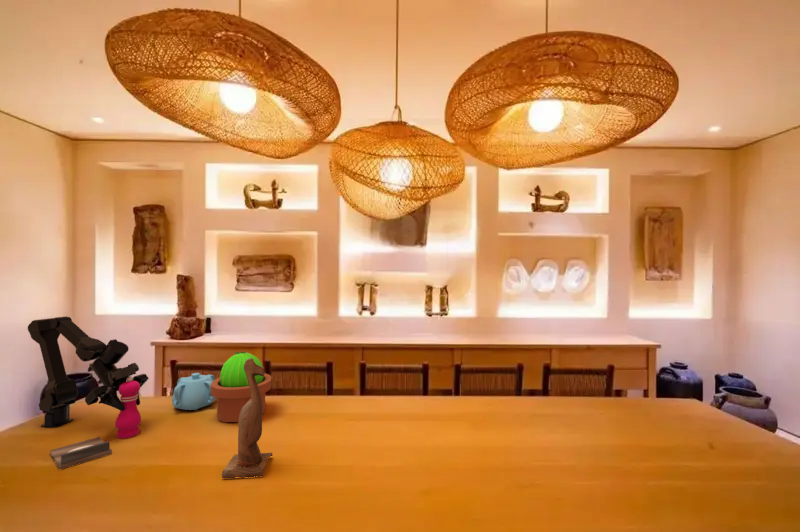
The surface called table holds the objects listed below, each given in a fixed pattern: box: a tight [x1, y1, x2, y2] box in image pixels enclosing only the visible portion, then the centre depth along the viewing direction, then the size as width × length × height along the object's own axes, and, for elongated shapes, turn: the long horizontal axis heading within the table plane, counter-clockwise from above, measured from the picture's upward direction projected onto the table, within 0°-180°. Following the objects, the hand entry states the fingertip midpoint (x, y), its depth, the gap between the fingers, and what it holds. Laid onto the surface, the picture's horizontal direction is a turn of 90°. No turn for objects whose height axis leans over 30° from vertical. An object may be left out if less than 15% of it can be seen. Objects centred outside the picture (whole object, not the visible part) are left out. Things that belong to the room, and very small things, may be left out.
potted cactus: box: [211, 351, 272, 423], centre depth 146 cm, size 22×22×25 cm
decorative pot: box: [171, 372, 217, 411], centre depth 154 cm, size 16×16×14 cm
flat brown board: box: [49, 436, 113, 470], centre depth 114 cm, size 14×12×4 cm
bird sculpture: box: [221, 358, 274, 479], centre depth 107 cm, size 11×12×32 cm
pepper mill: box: [114, 375, 142, 439], centre depth 127 cm, size 7×7×20 cm
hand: (131, 407), depth 127 cm, fingers closed on pepper mill, 5 cm apart
